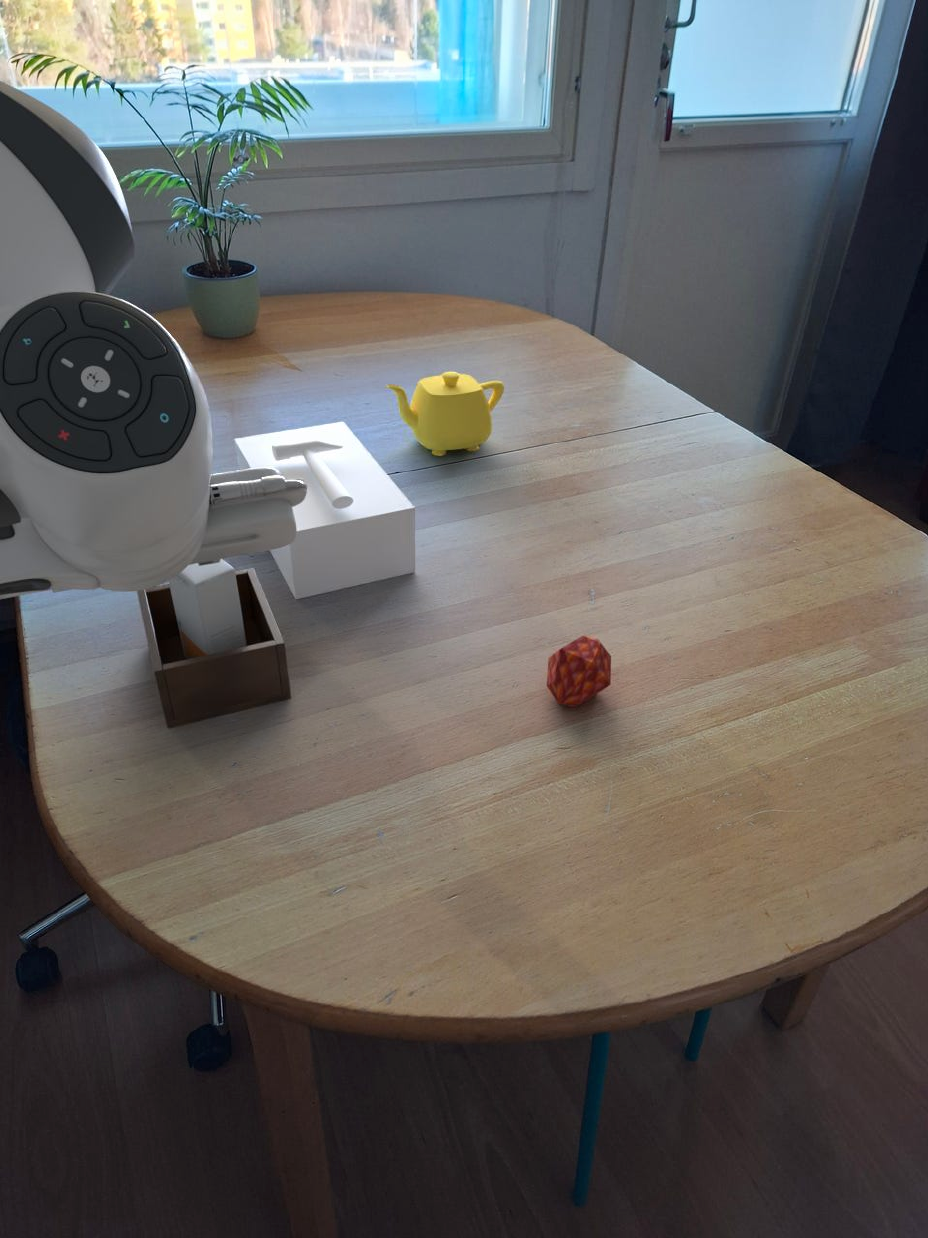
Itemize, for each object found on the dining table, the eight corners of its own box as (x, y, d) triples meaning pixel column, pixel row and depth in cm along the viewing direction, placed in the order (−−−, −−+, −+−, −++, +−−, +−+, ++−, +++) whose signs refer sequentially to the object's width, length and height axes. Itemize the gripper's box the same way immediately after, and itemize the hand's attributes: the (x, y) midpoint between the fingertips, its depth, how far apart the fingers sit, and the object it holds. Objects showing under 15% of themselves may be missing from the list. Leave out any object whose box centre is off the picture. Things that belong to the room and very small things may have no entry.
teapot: (398, 467, 124) (397, 395, 118) (377, 436, 132) (374, 367, 126) (515, 451, 129) (519, 381, 123) (487, 421, 138) (490, 354, 131)
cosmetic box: (183, 657, 87) (161, 556, 80) (220, 640, 90) (203, 540, 83) (213, 687, 84) (194, 584, 77) (252, 669, 86) (236, 567, 79)
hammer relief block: (346, 479, 121) (342, 404, 114) (415, 572, 103) (414, 489, 96) (242, 499, 116) (231, 421, 109) (295, 599, 97) (286, 513, 91)
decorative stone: (538, 709, 87) (578, 648, 90) (595, 733, 83) (635, 668, 86) (519, 674, 83) (562, 611, 86) (579, 697, 79) (622, 630, 82)
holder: (167, 728, 80) (153, 672, 76) (149, 643, 90) (136, 589, 86) (291, 698, 84) (284, 642, 80) (260, 620, 94) (253, 567, 90)
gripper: (298, 425, 51) (275, 498, 64) (-99, 479, 44) (-35, 548, 57) (324, 528, 50) (296, 580, 63) (-76, 599, 43) (-16, 641, 56)
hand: (136, 566), depth 60 cm, fingers open, 8 cm apart
